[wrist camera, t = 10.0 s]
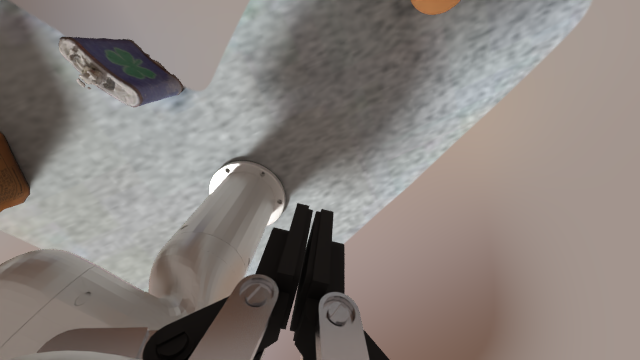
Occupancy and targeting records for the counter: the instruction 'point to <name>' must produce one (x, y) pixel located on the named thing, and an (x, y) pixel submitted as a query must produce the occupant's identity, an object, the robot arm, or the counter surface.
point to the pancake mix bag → (10, 178)
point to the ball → (434, 6)
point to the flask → (120, 69)
